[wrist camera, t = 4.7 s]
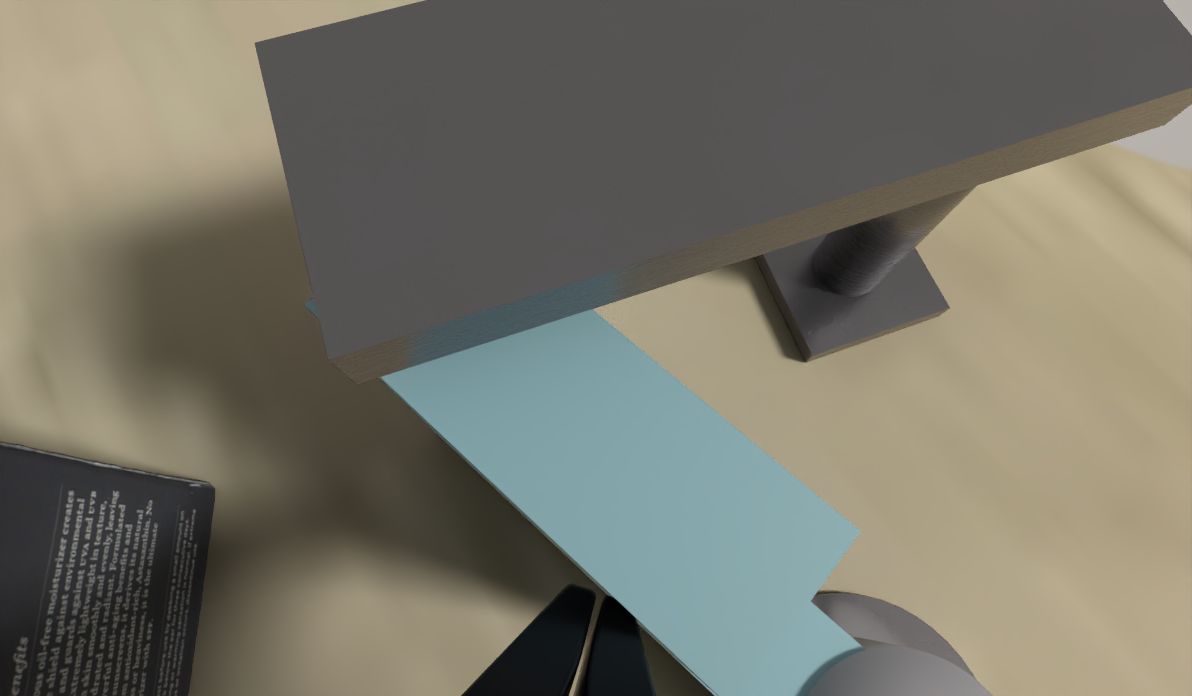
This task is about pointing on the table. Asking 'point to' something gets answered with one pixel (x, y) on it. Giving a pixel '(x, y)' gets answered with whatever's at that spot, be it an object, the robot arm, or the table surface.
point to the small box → (98, 576)
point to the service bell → (885, 624)
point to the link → (664, 509)
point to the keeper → (677, 151)
